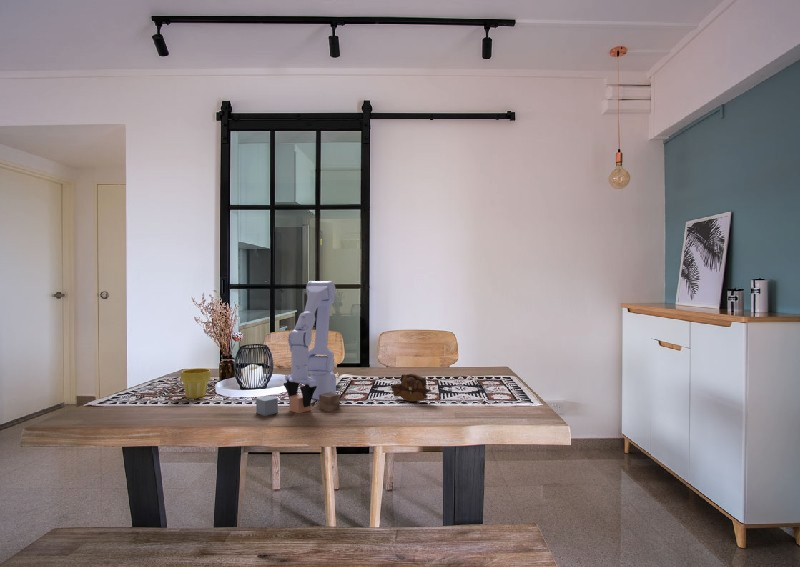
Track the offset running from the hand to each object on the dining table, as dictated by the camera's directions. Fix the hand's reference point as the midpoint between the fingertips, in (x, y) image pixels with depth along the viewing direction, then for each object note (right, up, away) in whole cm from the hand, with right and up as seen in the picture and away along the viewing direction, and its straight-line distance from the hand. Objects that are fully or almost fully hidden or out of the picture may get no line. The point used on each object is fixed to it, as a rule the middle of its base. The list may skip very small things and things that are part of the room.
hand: (299, 404), depth 156 cm
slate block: (-10, -2, -3) cm, 11 cm away
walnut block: (+10, -2, +2) cm, 10 cm away
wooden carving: (+38, -2, +12) cm, 40 cm away
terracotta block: (0, -2, 0) cm, 2 cm away
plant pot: (-44, -2, +18) cm, 47 cm away
